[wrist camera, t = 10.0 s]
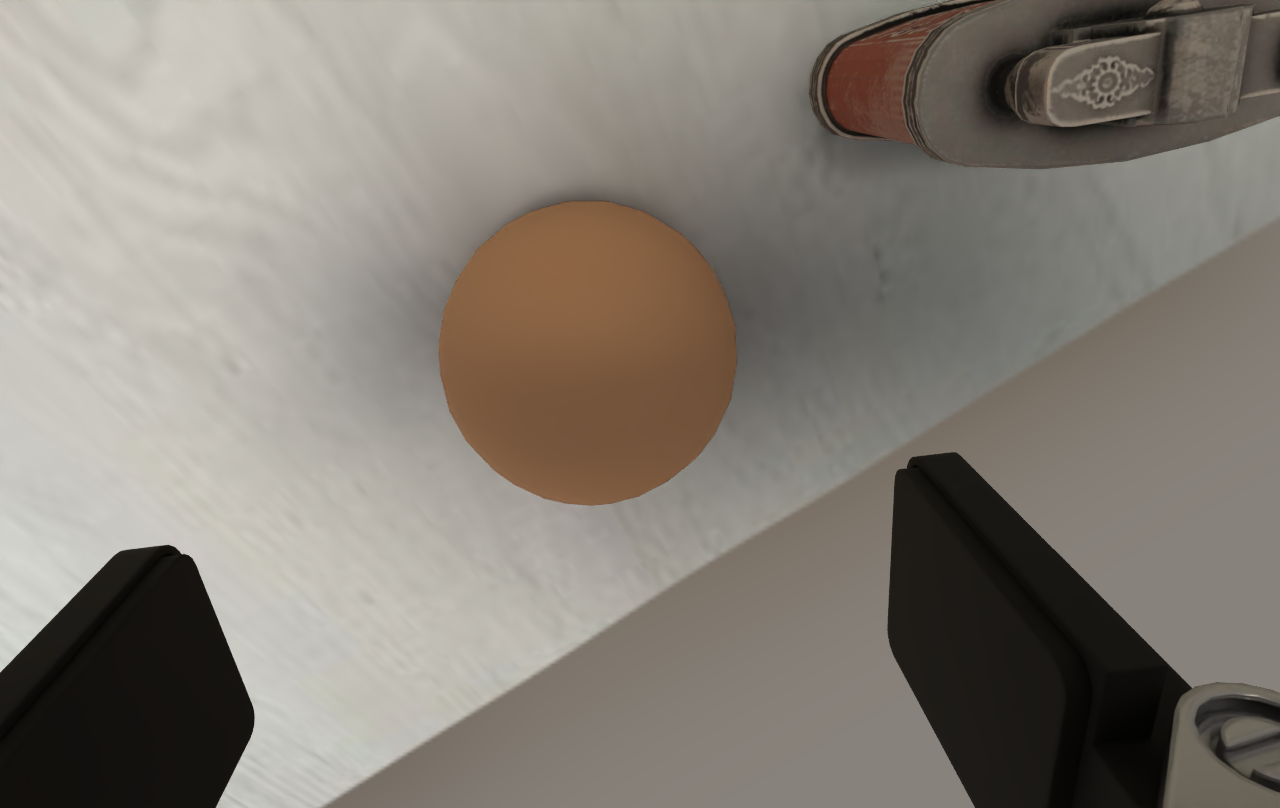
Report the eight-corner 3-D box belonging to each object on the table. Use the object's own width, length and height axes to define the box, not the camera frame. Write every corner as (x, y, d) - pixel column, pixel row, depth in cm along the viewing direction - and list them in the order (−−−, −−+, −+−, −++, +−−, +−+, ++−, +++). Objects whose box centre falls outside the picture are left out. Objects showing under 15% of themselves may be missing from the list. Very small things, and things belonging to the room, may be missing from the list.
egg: (574, 123, 21) (562, 152, 13) (761, 295, 23) (850, 408, 15) (416, 320, 23) (323, 450, 15) (604, 460, 25) (608, 637, 17)
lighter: (813, 157, 21) (978, 219, 12) (805, 24, 20) (984, -17, 11) (1096, 109, 21) (1477, 135, 12) (1107, -27, 20) (1546, -113, 11)
